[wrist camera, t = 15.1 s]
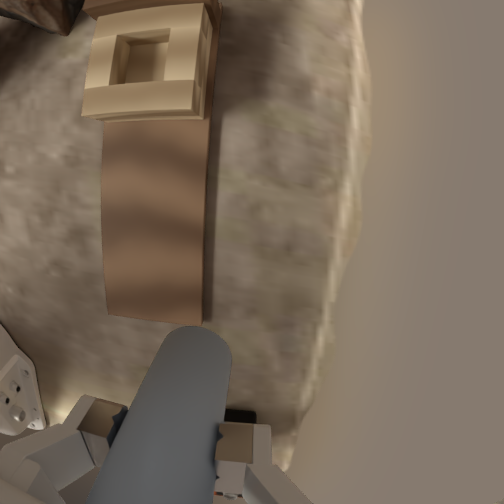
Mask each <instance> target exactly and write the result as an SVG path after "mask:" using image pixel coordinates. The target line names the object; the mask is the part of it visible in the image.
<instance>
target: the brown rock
mask: <svg viewBox="0 0 504 504" xmlns="http://www.w3.org/2000/svg"><path fill="white" fill-rule="evenodd" d="M84 1H85V0H0V16H3V17H7V18H11V19H16V20H20V21H23V22H26V23H30V24H32V25H33V26H36V27H39V28H41V29H43V30H45V31H47V32H48V33H52V34H54V33H58V34H60V35H63V36H68V35H69V33H70V30H71V28H72V26H73V24H74V21H75V19H76V17H77V15H78V13H79V11H80V10H81V8H82V6H83V4H84Z"/></svg>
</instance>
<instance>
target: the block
mask: <svg viewBox="0 0 504 504" xmlns="http://www.w3.org/2000/svg"><path fill="white" fill-rule="evenodd" d="M212 30H213V27H212V25H211V22H210V19H209V16H208V13H207V11H206V8H205V5H204V3H195V4H180V5H169V6H159V7H151V8H144V9H137V10H131V11H125V12H120V13H114V14H109V15H105V16H100V17H98V19H97V23H96V27H95V32H94V37H93V41H92V46H91V51H90V57H89V63H88V68H87V75H86V81H85V89H84V96H83V105H82V114H81V116H84V117H88V118H92V119H97V120H101V121H105V122H122V121H140V120H176V119H198V120H203V119H204V107H205V95H206V85H207V74H208V65H209V55H210V46H211V38H212Z"/></svg>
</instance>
